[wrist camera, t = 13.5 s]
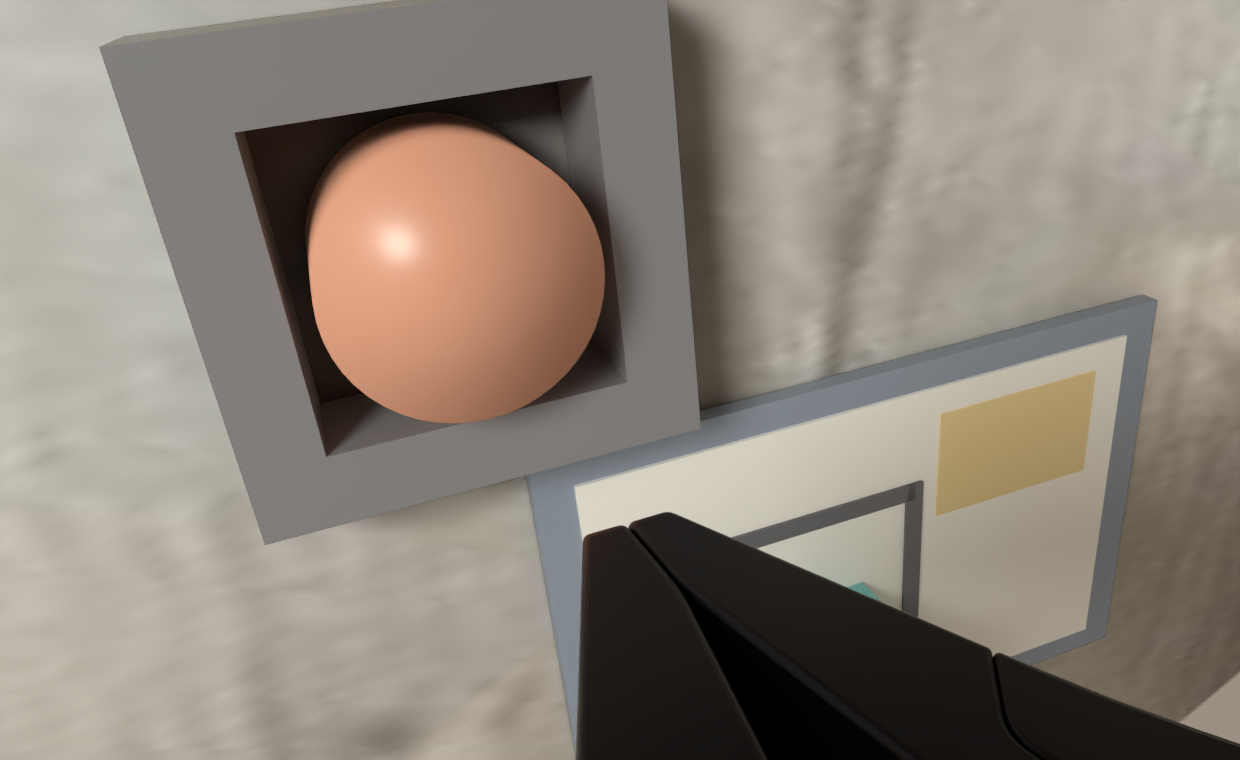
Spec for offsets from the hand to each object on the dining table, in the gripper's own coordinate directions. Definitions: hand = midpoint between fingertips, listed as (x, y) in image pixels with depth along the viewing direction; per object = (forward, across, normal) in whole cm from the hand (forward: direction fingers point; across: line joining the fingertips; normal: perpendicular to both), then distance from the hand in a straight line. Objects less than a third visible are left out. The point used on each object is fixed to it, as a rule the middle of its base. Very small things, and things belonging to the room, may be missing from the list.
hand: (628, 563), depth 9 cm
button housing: (+12, 0, 0) cm, 12 cm away
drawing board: (+12, -10, +12) cm, 19 cm away
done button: (+12, 0, 0) cm, 12 cm away
